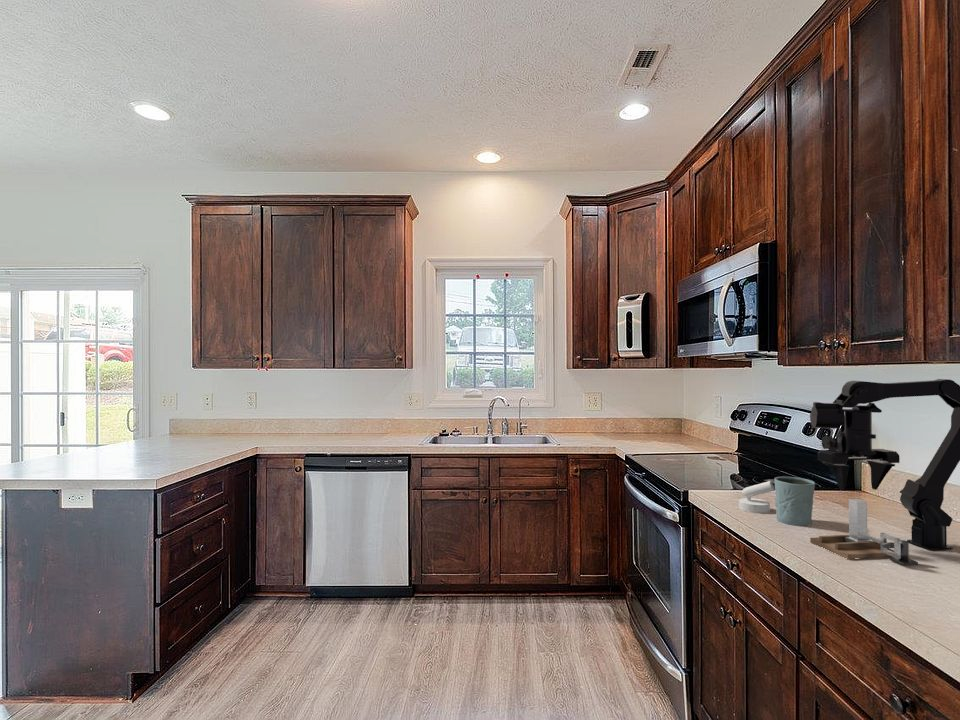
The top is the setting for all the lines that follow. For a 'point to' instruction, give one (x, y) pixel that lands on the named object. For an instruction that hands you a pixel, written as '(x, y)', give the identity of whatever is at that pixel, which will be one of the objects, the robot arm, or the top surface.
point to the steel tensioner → (860, 528)
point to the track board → (850, 547)
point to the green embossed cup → (794, 500)
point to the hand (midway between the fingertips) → (858, 489)
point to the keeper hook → (904, 553)
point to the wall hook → (753, 503)
